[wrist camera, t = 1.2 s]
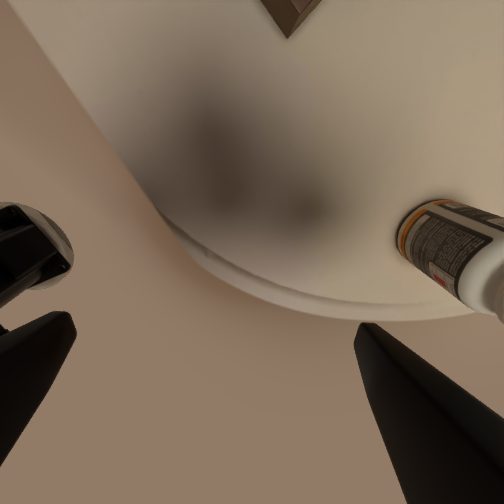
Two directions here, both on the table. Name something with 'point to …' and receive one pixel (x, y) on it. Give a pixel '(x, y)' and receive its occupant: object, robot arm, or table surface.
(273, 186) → the table surface
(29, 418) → the robot arm
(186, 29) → the table surface
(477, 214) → the white rounded container
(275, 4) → the holder
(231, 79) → the table surface
